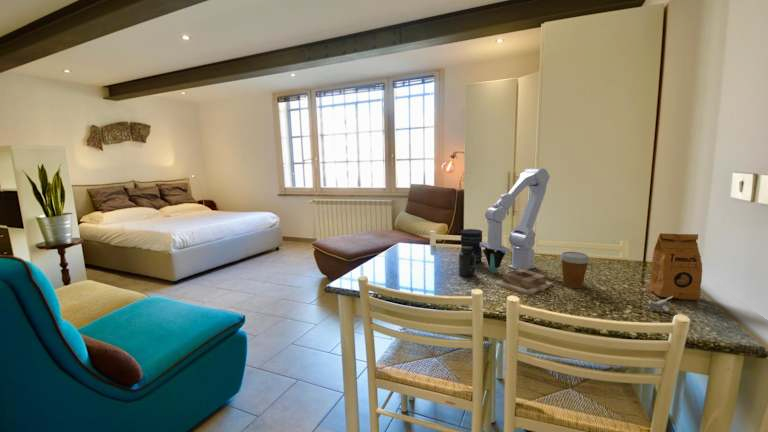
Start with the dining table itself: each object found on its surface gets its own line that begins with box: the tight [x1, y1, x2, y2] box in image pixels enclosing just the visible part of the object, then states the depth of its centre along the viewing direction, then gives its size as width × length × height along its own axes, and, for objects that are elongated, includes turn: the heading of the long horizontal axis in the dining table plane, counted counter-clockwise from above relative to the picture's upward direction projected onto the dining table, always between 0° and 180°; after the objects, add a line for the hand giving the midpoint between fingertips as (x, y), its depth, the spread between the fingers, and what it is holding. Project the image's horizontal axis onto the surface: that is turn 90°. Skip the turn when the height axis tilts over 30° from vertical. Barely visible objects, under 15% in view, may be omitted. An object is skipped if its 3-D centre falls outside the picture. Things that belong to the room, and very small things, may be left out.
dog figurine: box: [647, 296, 674, 313], centre depth 105 cm, size 3×8×6 cm
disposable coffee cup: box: [559, 251, 590, 289], centre depth 127 cm, size 10×10×12 cm
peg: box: [489, 253, 499, 274], centre depth 146 cm, size 3×3×8 cm
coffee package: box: [648, 232, 703, 301], centre depth 115 cm, size 10×12×22 cm
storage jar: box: [460, 228, 483, 266], centre depth 160 cm, size 10×10×15 cm
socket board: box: [494, 269, 554, 296], centre depth 130 cm, size 16×14×4 cm
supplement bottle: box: [458, 246, 476, 278], centre depth 142 cm, size 7×7×12 cm
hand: (493, 266), depth 146 cm, fingers closed on peg, 3 cm apart
